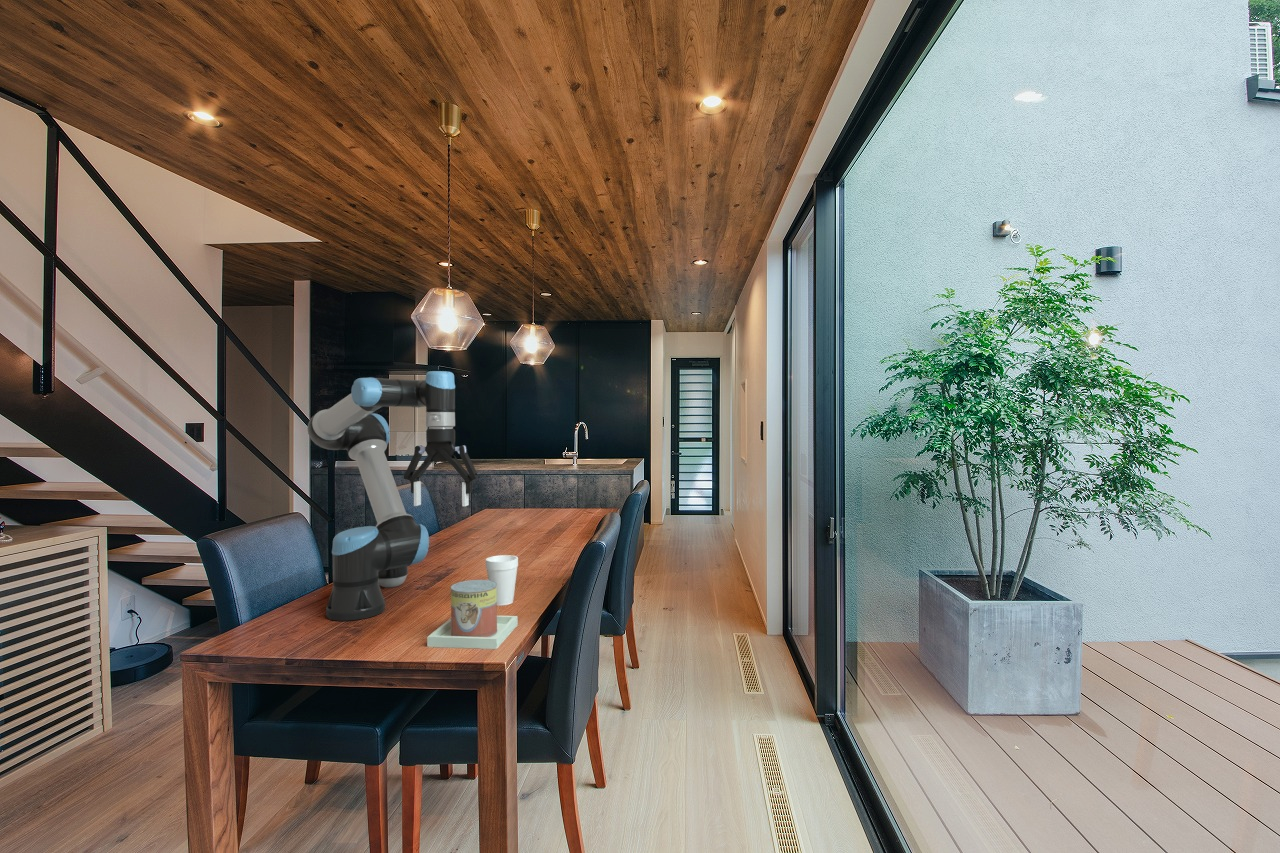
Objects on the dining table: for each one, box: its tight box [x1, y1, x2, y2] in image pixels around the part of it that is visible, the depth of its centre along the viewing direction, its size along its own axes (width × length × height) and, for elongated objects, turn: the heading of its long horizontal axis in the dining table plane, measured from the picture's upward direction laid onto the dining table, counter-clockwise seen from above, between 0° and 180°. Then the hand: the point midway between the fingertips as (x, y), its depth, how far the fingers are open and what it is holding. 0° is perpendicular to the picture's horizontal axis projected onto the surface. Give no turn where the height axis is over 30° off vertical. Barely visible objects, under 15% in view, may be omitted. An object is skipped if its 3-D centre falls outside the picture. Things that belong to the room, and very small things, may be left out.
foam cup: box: [485, 554, 519, 606], centre depth 183 cm, size 10×9×13 cm
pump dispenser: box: [378, 566, 409, 589], centre depth 202 cm, size 10×10×15 cm
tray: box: [426, 615, 519, 650], centre depth 155 cm, size 17×17×2 cm
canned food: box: [450, 579, 498, 637], centre depth 155 cm, size 11×11×12 cm
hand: (441, 505), depth 169 cm, fingers open, 13 cm apart
